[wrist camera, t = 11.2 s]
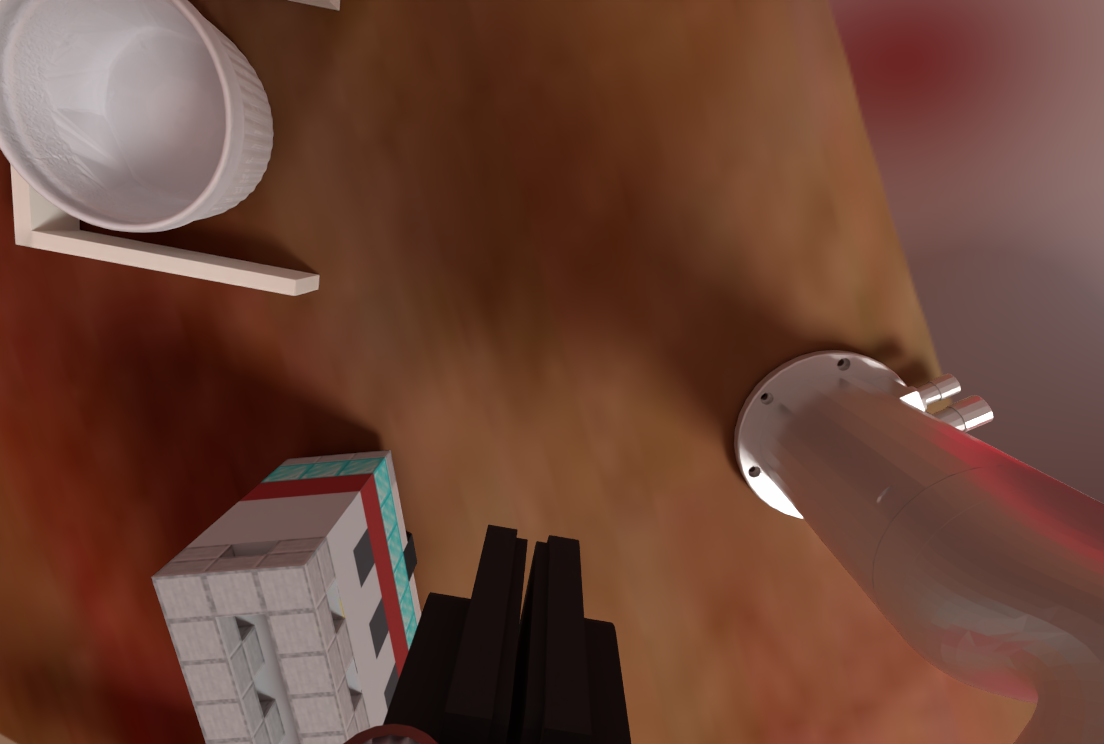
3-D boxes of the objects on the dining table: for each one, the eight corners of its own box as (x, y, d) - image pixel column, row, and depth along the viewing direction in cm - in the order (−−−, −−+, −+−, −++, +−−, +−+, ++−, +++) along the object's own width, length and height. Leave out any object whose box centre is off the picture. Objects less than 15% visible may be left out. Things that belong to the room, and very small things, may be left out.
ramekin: (321, 206, 36) (267, 202, 30) (136, 250, 37) (43, 256, 31) (250, -20, 33) (171, -82, 26) (48, 35, 34) (-77, -11, 27)
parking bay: (340, -8, 33) (316, -35, 30) (318, 289, 38) (294, 295, 34) (51, -68, 32) (-8, -102, 29) (65, 242, 37) (15, 244, 34)
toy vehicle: (366, 770, 49) (285, 1001, 34) (291, 452, 41) (145, 577, 26) (457, 764, 48) (414, 994, 34) (399, 442, 41) (311, 564, 26)
